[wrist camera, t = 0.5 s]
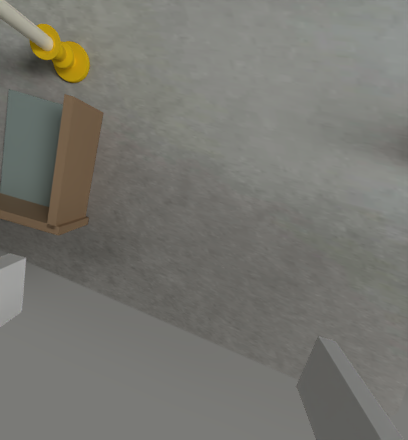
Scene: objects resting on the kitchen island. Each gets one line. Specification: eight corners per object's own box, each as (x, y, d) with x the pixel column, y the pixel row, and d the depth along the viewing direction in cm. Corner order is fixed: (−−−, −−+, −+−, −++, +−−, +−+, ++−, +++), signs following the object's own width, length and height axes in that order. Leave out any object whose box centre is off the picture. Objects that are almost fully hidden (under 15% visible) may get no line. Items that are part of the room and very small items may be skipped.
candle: (83, 38, 32) (-41, -87, 17) (94, 77, 33) (-12, -7, 18) (50, 49, 32) (-99, -63, 17) (62, 87, 33) (-68, 13, 18)
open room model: (9, 85, 34) (-45, 62, 27) (107, 113, 34) (79, 98, 27) (-1, 198, 37) (-50, 203, 30) (87, 224, 37) (58, 235, 30)
